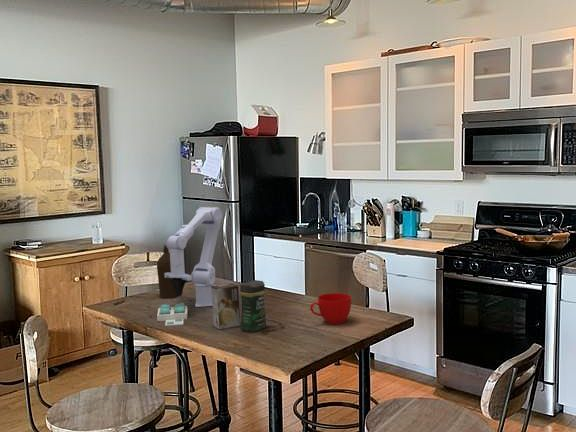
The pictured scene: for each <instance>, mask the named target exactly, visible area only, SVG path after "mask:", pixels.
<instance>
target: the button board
mask: <svg viewBox="0 0 576 432" xmlns="http://www.w3.org/2000/svg"><path fill="white" fill-rule="evenodd" d="M160 309H161V307H158V310H157V315H156V316H157V317H156V319H157V322H166V320H175V319H183V320H188V306H187V305H184V313H177V314H175V306H170V310H169V312H170V314H164V315H160Z"/></svg>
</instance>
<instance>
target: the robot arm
mask: <svg viewBox="0 0 576 432" xmlns="http://www.w3.org/2000/svg"><path fill="white" fill-rule="evenodd" d="M222 217H223V214H222V211H221V209H220V208H219V206H216V207H214V206H213V207H209V206H206V207H205V206H200V207H199V208H198V209H197V210H196V211H195V215H194V217H193V218H192V219H191V220H190V221H189V222H188V224H182V225H181V227H180V228H179V229H178V230H177V231H176V232H175V234H174V235H170V236H169V237H168V238H167V240H166V243H165V245H167V248H168V250H169V253H170V264H171V273H169V272H167V273H164V274H165V278H167V277H168V278H172V280H170V282H171V284H172V286H173V288H174V290H175V293H176V296H179V297H181V296H183V290H184V287H185V284H187V281H188V282H190V281H191V282H192V284H193V285H194V287H195V303H194V304H195V308H199V307H200V308H201V307H213V304H212V288H211V286H216V285H217V284H215V281H216V268H215V267H214V266H213V265H212V264H213V259H214V254H215V249H216V245H217V240H218V235H219V231H220V226H221V222H222ZM201 224H202V226H203V227H205V229H206V232H205V236H204V241H203V245H202V250H201V254H200V258H199V259H200V260H199V262H198V263H197V264H195V266H194V268H193V271H192V272H191V274H188V273H185V271H186V269H185V253H184V249H186V247H187V244H188V241H189V240H190V239H191V238H192V237H193V235H194V234H195V230H196V229H197V228H198V227H199V226H200V225H201Z"/></svg>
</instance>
